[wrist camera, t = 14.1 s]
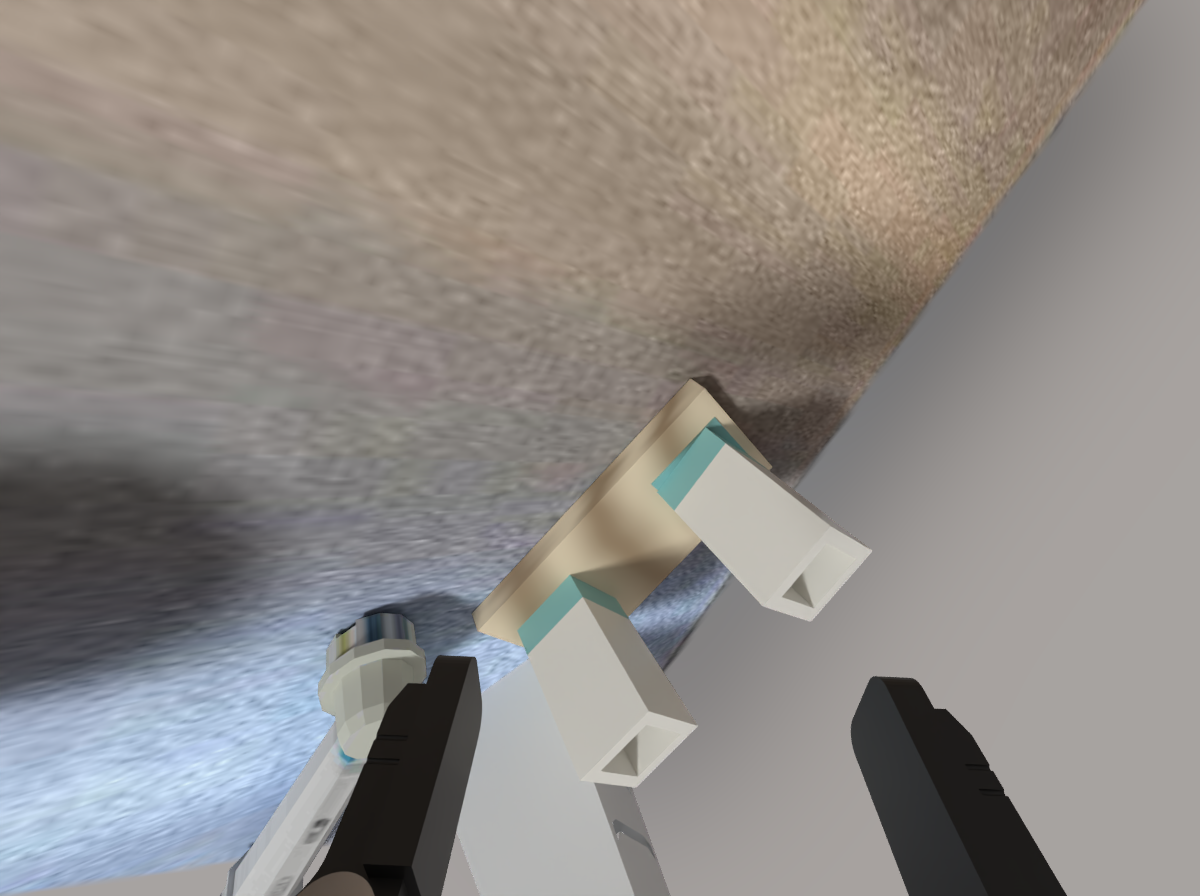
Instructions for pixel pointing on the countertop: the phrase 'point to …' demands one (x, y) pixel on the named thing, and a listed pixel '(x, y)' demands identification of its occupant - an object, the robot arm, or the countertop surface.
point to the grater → (546, 809)
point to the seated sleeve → (603, 686)
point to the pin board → (617, 522)
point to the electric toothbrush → (332, 752)
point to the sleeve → (761, 528)
